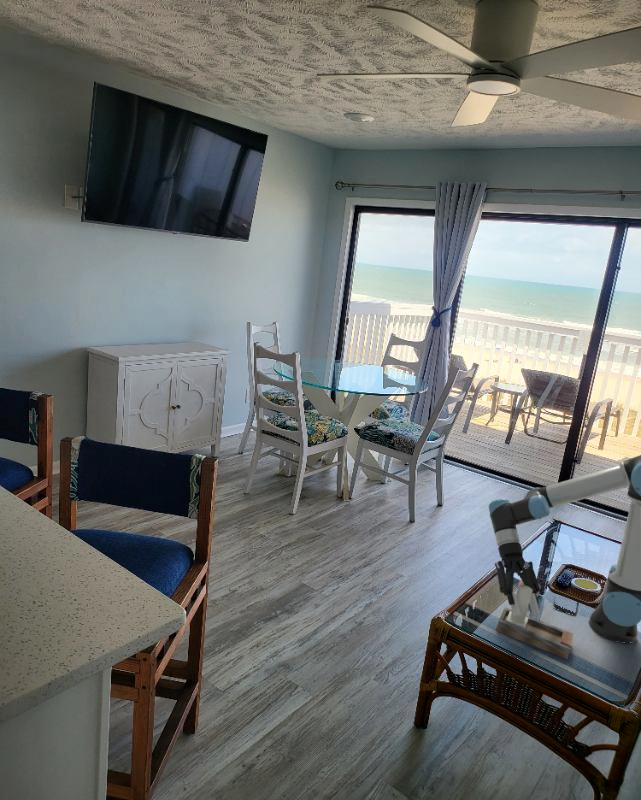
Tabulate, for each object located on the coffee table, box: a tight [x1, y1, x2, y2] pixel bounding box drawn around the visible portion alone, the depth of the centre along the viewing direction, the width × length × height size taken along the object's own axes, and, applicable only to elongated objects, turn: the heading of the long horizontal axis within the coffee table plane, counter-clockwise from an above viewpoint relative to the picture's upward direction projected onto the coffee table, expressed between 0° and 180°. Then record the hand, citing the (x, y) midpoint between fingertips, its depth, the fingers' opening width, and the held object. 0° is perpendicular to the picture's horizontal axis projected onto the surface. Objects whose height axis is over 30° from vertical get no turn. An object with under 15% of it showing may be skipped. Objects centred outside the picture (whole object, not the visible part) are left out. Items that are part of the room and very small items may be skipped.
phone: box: [552, 601, 577, 616], centre depth 224 cm, size 8×1×15 cm
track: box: [496, 607, 574, 660], centre depth 197 cm, size 22×11×4 cm, turn 63°
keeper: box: [506, 585, 533, 629], centre depth 198 cm, size 6×7×12 cm
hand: (526, 615), depth 195 cm, fingers open, 7 cm apart
